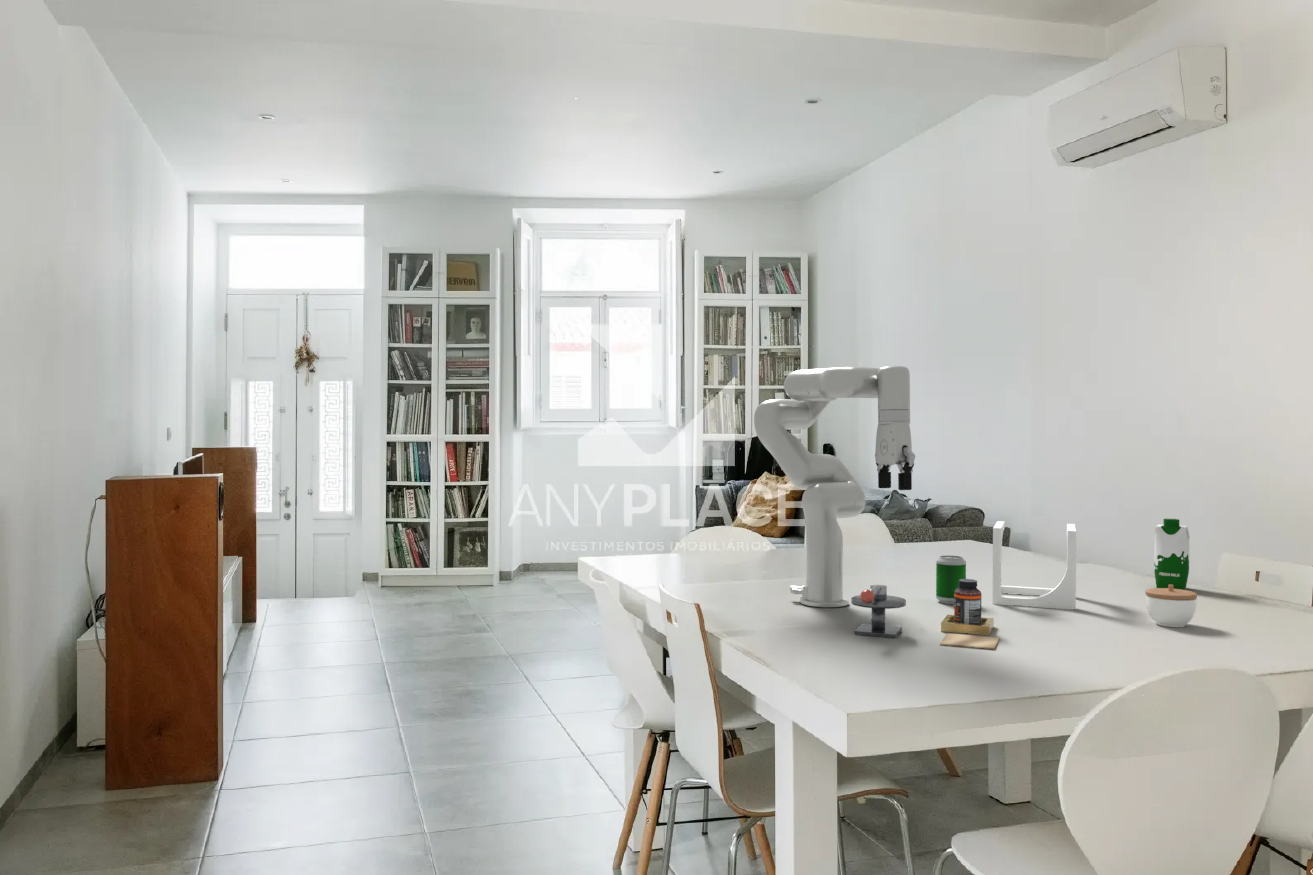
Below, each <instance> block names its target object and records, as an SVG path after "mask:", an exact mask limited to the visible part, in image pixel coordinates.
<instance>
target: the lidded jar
mask: <svg viewBox="0 0 1313 875" xmlns="http://www.w3.org/2000/svg"><path fill="white" fill-rule="evenodd" d="M1197 597H1198V593H1196V592H1194V591H1191V590H1186V589H1185V590H1181V589H1173V585H1169V588H1157V587H1153V588H1152V587H1151V588H1147V589H1146V590H1145V603H1146V609H1147V612H1148V615H1149V616H1150V618H1151V619H1152V620H1153V621H1154V622H1155V624H1156V625H1158V626H1160V627H1161V626H1162V627H1168V628H1183V627H1186V625H1187V624H1189V623H1190V621H1192V619H1193V618H1194V615H1195V614H1196V609H1197Z"/></svg>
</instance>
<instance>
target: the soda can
mask: <svg viewBox="0 0 1313 875" xmlns="http://www.w3.org/2000/svg"><path fill="white" fill-rule="evenodd" d="M935 564H936V565H935V566H936V568H935V569H936V570H935V571H936V573H935V576H936V577H935V579H936V580H935V585H936V586H935V598H936V599H937V600H938V601H940V602H941V604H945V605H954V593H955V590H956V589H958V587H959V580H960V579H967V561H966V560H965V559H964V558H963V556H959V555H940V556H939V557H938V558H937V559H936V562H935ZM940 602H939V603H940Z"/></svg>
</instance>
